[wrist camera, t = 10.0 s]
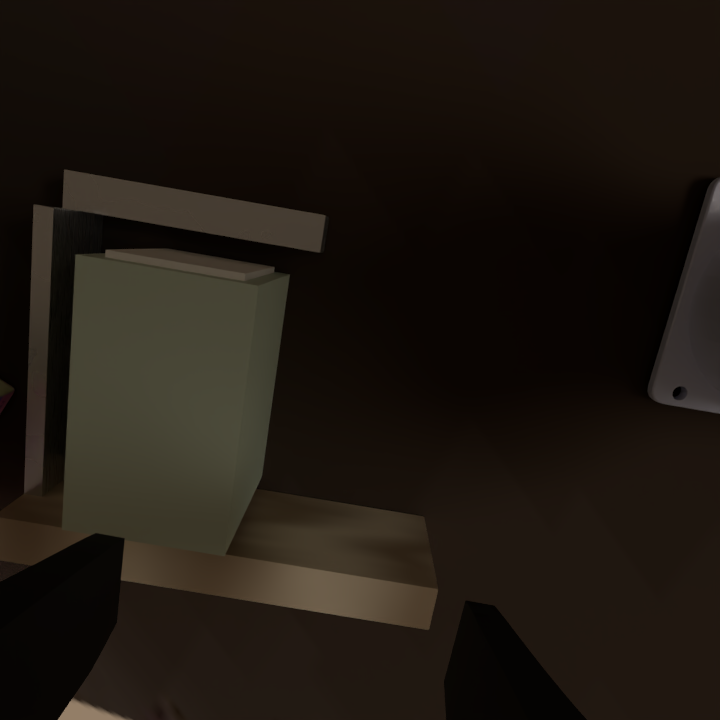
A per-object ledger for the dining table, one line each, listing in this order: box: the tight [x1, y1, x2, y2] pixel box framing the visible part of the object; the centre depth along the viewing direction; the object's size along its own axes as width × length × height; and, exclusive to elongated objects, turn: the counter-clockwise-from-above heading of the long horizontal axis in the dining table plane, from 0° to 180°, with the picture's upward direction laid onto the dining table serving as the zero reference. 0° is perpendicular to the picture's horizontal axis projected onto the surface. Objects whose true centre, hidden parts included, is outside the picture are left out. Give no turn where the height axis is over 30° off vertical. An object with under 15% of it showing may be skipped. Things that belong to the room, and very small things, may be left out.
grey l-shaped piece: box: [24, 170, 329, 497], centre depth 18 cm, size 8×11×3 cm
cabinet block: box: [62, 248, 290, 556], centre depth 17 cm, size 5×8×6 cm, turn 170°
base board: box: [0, 480, 438, 630], centre depth 19 cm, size 14×2×4 cm, turn 80°
